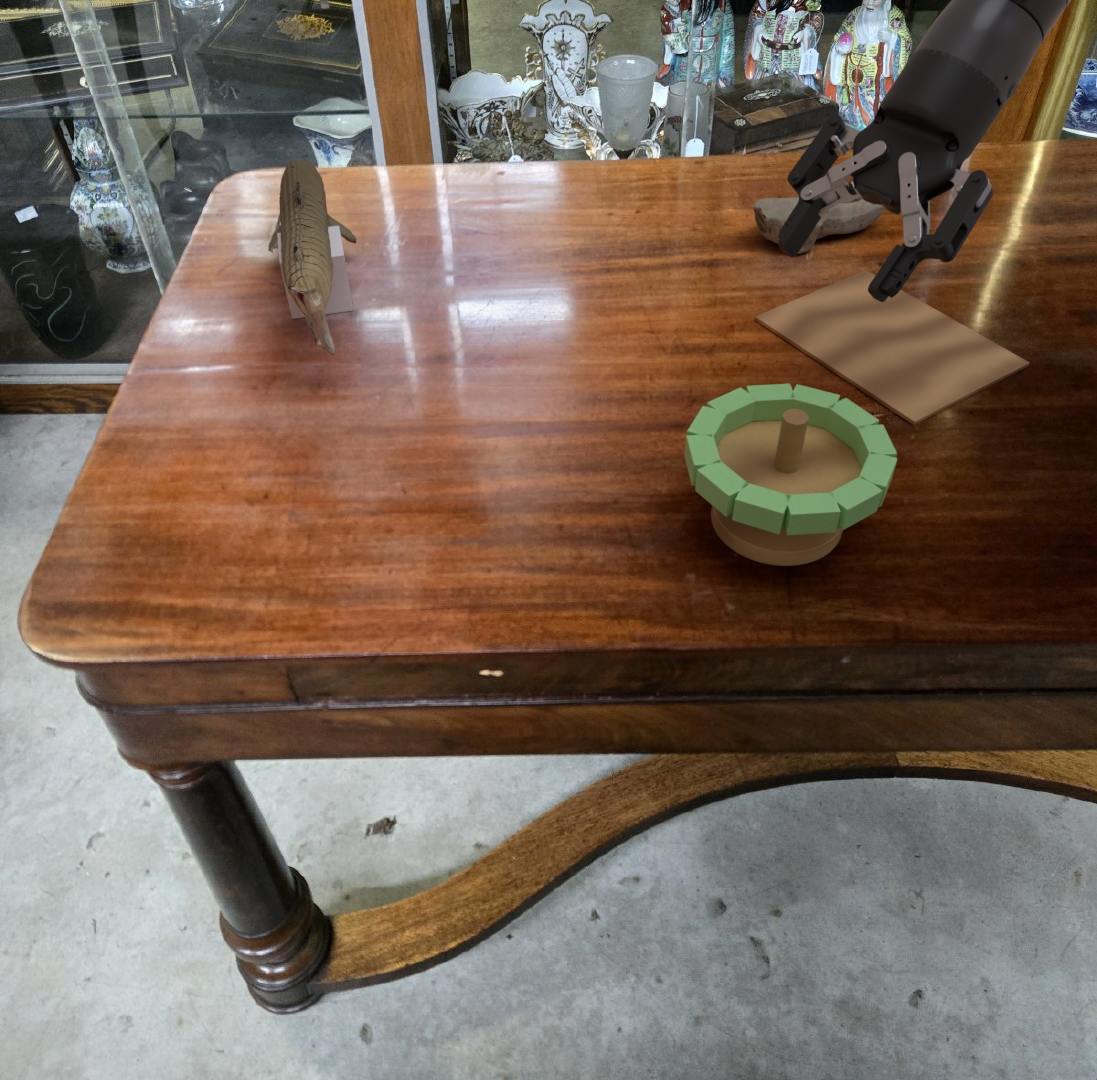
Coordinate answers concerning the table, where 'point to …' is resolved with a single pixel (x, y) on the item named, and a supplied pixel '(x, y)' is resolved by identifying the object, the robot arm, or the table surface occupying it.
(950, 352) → the mat
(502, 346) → the table surface
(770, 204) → the sculpture
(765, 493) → the ring
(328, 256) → the wood carving
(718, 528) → the stand
